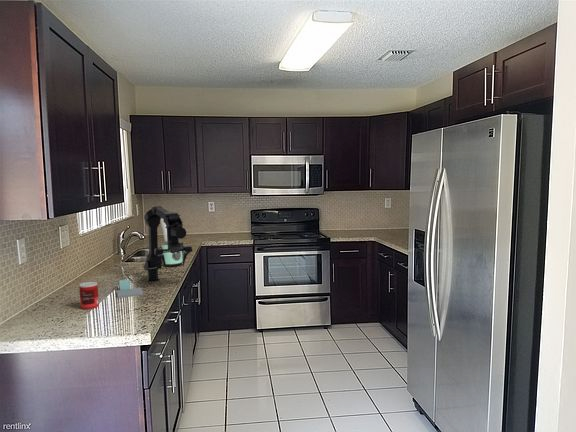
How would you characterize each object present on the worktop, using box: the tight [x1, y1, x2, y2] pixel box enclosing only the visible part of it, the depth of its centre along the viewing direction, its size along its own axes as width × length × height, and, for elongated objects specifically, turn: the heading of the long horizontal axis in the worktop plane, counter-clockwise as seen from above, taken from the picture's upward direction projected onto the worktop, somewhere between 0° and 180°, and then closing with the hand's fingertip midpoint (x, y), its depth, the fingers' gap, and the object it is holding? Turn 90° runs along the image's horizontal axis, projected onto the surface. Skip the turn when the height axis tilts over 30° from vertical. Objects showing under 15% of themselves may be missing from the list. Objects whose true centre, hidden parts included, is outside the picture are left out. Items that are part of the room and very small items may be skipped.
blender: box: [160, 214, 183, 268], centre depth 277 cm, size 19×13×35 cm
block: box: [118, 278, 131, 290], centre depth 218 cm, size 5×5×5 cm
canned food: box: [78, 281, 100, 310], centre depth 188 cm, size 8×8×11 cm
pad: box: [116, 287, 144, 299], centre depth 210 cm, size 12×12×1 cm
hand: (174, 266), depth 215 cm, fingers open, 9 cm apart
